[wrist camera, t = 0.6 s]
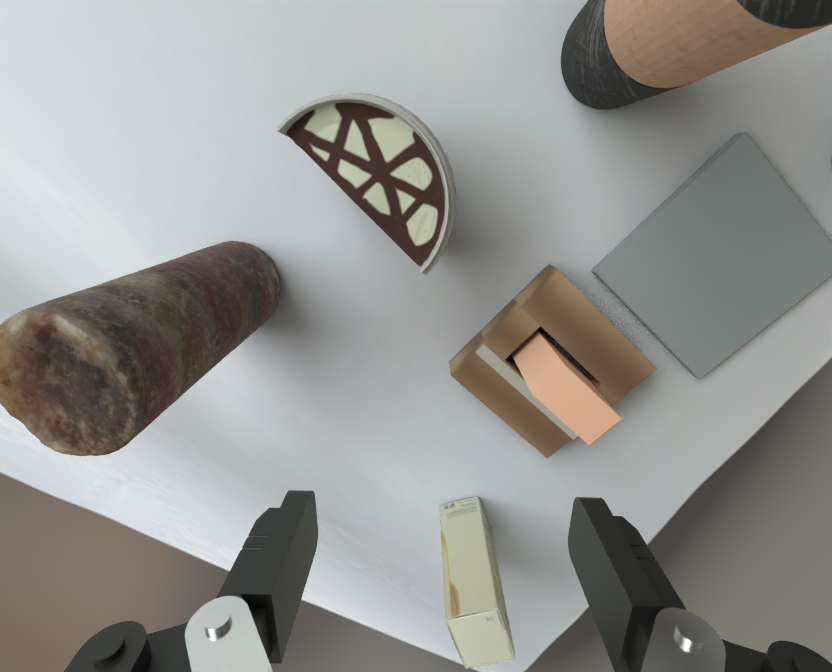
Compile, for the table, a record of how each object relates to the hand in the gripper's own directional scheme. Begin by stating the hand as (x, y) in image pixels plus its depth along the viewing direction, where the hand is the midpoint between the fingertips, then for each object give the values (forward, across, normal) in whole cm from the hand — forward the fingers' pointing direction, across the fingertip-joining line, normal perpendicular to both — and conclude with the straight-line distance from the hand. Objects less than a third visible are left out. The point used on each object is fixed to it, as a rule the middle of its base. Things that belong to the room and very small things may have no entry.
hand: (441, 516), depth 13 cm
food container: (+25, +3, -11) cm, 28 cm away
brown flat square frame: (+25, -10, +5) cm, 27 cm away
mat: (+25, -23, -4) cm, 34 cm away
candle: (+25, +16, -2) cm, 30 cm away
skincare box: (+25, -4, +24) cm, 35 cm away
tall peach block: (+25, -10, +5) cm, 27 cm away
